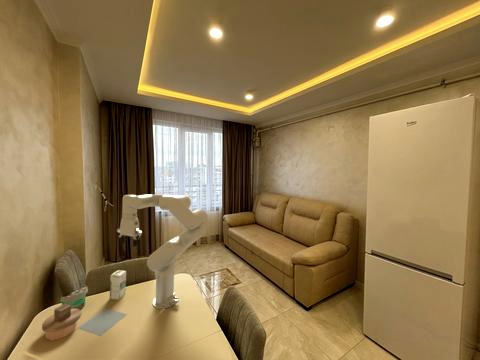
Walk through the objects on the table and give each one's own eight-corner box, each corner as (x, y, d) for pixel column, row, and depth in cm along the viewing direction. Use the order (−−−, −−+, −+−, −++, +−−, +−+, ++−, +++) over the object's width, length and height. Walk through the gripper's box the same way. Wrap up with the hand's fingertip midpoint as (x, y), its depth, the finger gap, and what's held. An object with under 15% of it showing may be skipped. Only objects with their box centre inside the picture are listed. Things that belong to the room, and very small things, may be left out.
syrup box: (116, 293, 117) (116, 269, 116) (125, 294, 116) (126, 270, 116) (109, 299, 111) (109, 274, 111) (119, 300, 111) (120, 275, 110)
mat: (127, 315, 99) (127, 314, 99) (100, 337, 86) (100, 335, 86) (105, 309, 103) (105, 308, 103) (77, 329, 90) (77, 327, 90)
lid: (88, 314, 92) (88, 301, 92) (55, 335, 80) (55, 321, 80) (68, 308, 96) (68, 296, 96) (34, 327, 83) (34, 313, 83)
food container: (69, 319, 95) (70, 299, 95) (59, 317, 96) (60, 297, 96) (93, 303, 107) (93, 285, 107) (84, 301, 108) (84, 284, 108)
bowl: (82, 325, 92) (82, 315, 91) (57, 343, 82) (57, 331, 82) (66, 320, 94) (66, 310, 94) (40, 337, 85) (40, 325, 84)
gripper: (146, 216, 116) (145, 244, 116) (123, 213, 120) (122, 241, 121) (136, 218, 108) (135, 249, 109) (112, 215, 113) (111, 245, 113)
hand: (128, 244), depth 115 cm, fingers open, 9 cm apart
